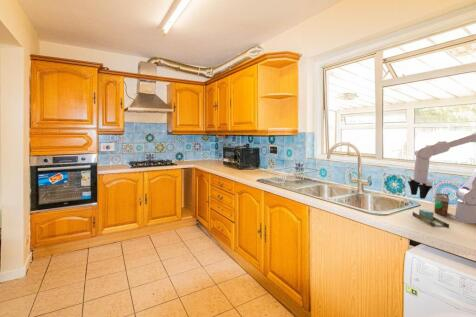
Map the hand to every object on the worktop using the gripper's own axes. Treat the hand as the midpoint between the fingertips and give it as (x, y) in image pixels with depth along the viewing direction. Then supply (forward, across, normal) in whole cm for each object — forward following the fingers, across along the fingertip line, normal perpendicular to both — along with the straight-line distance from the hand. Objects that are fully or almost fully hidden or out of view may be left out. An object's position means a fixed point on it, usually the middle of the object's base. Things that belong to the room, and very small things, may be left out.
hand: (417, 196), depth 127 cm
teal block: (+9, +8, 0) cm, 12 cm away
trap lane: (+9, +10, 0) cm, 14 cm away
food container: (+10, -4, +14) cm, 17 cm away
